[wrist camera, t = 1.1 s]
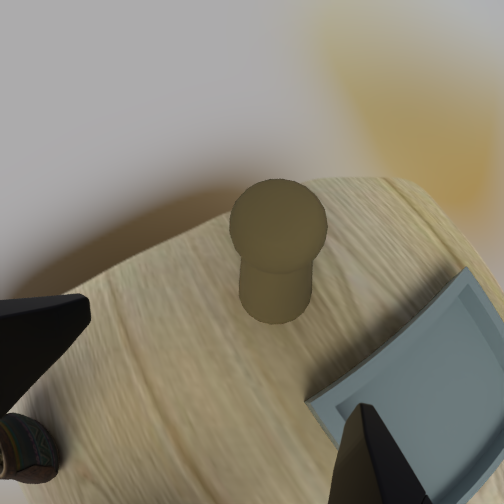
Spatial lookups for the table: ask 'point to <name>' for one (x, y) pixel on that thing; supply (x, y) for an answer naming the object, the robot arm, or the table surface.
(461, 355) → the slate tray
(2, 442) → the mate gourd
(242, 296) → the cork
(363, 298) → the table surface
